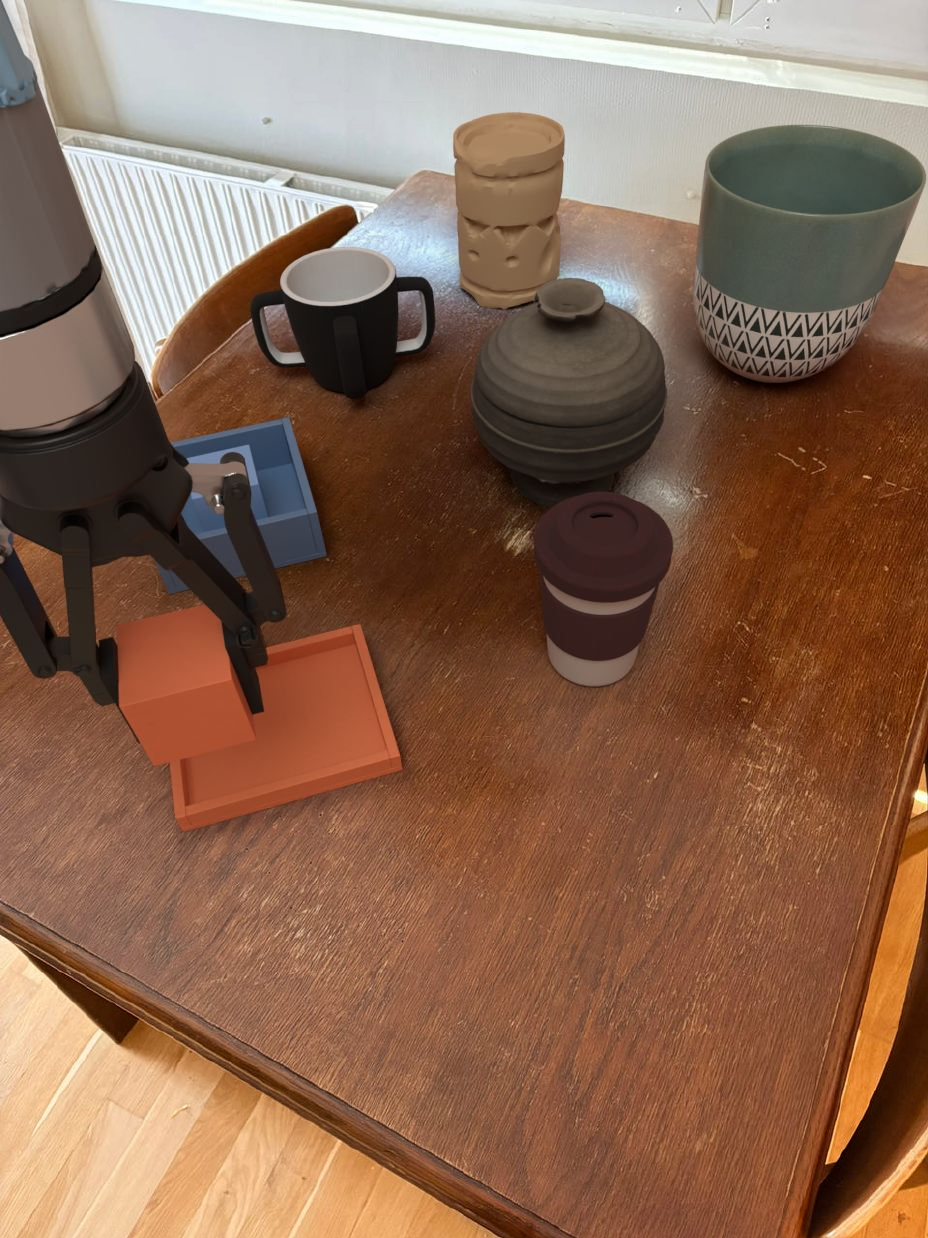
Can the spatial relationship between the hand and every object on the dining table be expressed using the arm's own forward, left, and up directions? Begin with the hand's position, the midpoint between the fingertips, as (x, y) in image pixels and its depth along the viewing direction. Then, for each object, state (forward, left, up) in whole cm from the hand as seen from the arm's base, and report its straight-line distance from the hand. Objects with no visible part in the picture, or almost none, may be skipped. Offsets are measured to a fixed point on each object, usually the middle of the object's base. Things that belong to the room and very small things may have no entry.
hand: (200, 709), depth 54 cm
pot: (+35, +29, -15) cm, 48 cm away
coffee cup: (+29, +7, -15) cm, 34 cm away
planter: (+63, +39, -15) cm, 76 cm away
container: (+42, +66, -15) cm, 80 cm away
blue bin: (+3, +33, -15) cm, 36 cm away
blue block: (+3, +33, -14) cm, 36 cm away
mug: (+19, +54, -15) cm, 59 cm away
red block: (0, 0, 0) cm, 0 cm away
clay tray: (+3, +8, -15) cm, 17 cm away
